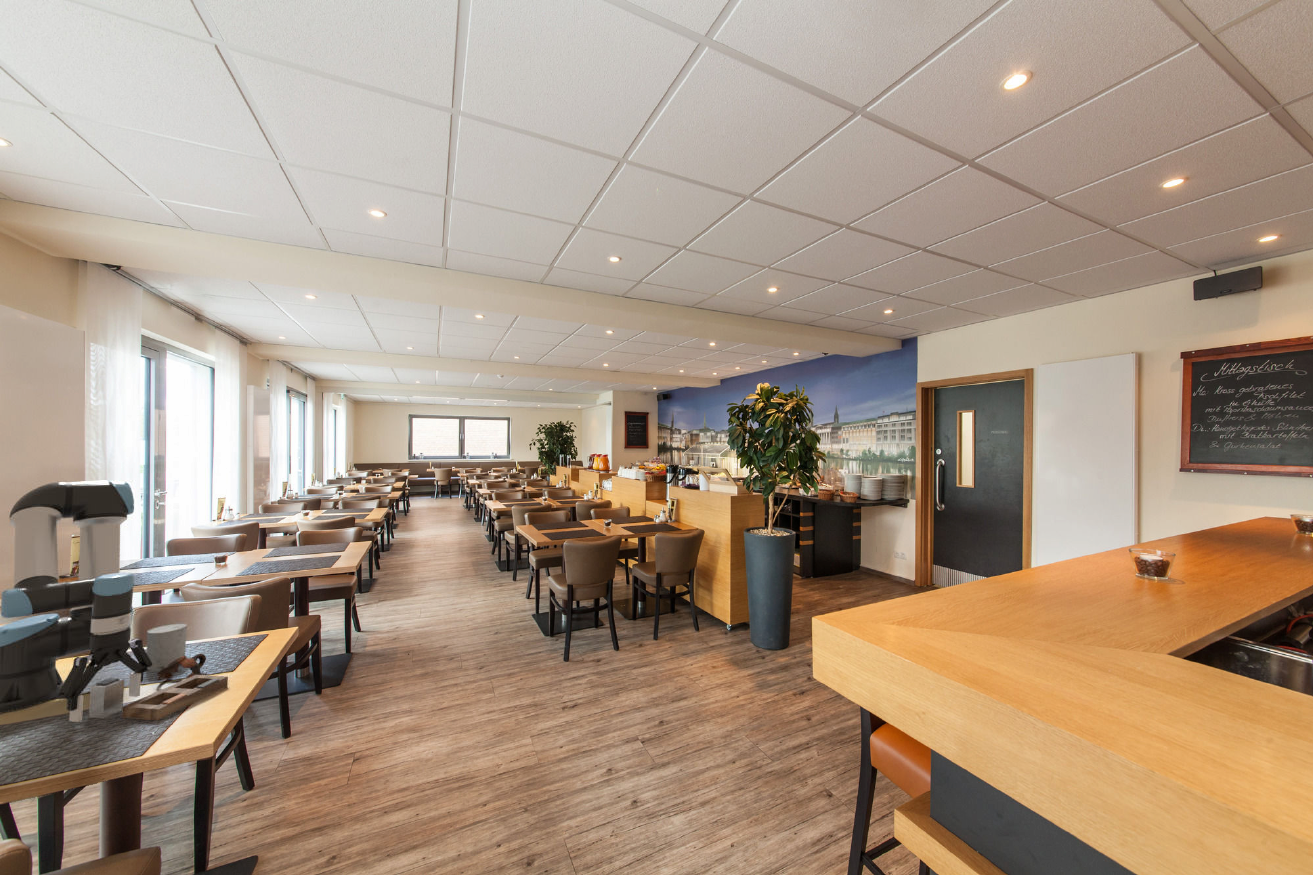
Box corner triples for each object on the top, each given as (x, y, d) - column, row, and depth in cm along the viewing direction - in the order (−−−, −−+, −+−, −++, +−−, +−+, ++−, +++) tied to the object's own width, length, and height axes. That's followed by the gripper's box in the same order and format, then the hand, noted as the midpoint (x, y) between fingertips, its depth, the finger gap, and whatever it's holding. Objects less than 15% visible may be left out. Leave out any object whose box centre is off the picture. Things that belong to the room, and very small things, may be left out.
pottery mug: (183, 688, 145) (166, 667, 144) (161, 699, 147) (144, 678, 146) (220, 662, 157) (205, 642, 156) (199, 672, 159) (184, 653, 157)
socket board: (121, 717, 128) (122, 705, 128) (195, 684, 147) (196, 673, 147) (157, 720, 127) (158, 707, 127) (227, 686, 146) (227, 675, 146)
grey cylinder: (164, 670, 156) (166, 633, 156) (136, 670, 156) (138, 632, 157) (193, 658, 166) (195, 623, 166) (166, 657, 166) (168, 622, 166)
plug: (88, 717, 128) (90, 684, 129) (108, 708, 133) (110, 676, 133) (103, 718, 128) (105, 685, 128) (122, 709, 132) (124, 677, 133)
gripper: (64, 648, 119) (58, 734, 118) (171, 615, 143) (167, 687, 142) (38, 647, 119) (32, 732, 119) (149, 614, 144) (145, 685, 143)
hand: (106, 707), depth 130 cm, fingers open, 12 cm apart
